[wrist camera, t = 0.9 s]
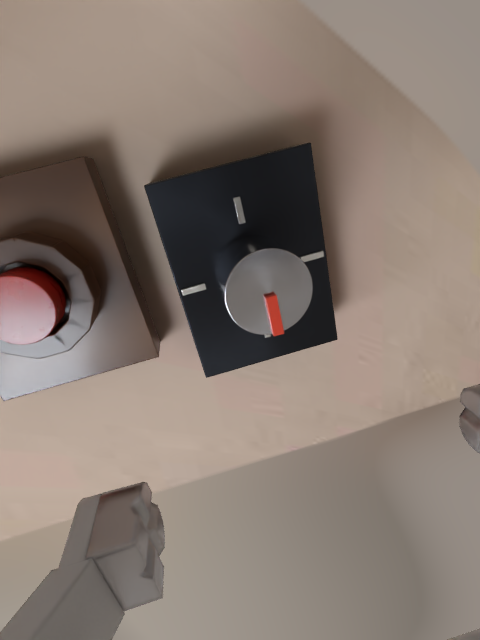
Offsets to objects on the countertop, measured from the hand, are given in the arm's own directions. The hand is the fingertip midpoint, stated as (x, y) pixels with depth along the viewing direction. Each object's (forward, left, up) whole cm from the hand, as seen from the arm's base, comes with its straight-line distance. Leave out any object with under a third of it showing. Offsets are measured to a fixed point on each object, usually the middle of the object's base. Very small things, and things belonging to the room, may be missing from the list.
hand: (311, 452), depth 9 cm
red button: (-3, -11, -13) cm, 17 cm away
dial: (-1, +1, -13) cm, 14 cm away
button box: (-3, -11, -17) cm, 20 cm away
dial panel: (-1, +1, -17) cm, 17 cm away
